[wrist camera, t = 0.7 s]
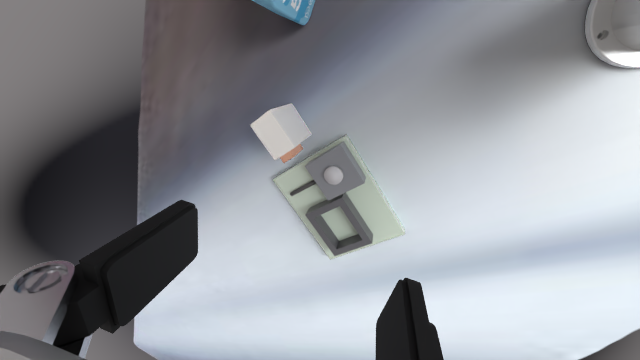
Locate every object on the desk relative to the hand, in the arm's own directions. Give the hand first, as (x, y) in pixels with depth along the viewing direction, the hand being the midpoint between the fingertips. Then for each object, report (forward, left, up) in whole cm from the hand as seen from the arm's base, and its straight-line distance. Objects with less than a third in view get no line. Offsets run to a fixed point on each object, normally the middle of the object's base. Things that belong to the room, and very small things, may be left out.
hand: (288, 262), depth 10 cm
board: (+11, +10, -30) cm, 33 cm away
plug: (+10, -6, -30) cm, 32 cm away
